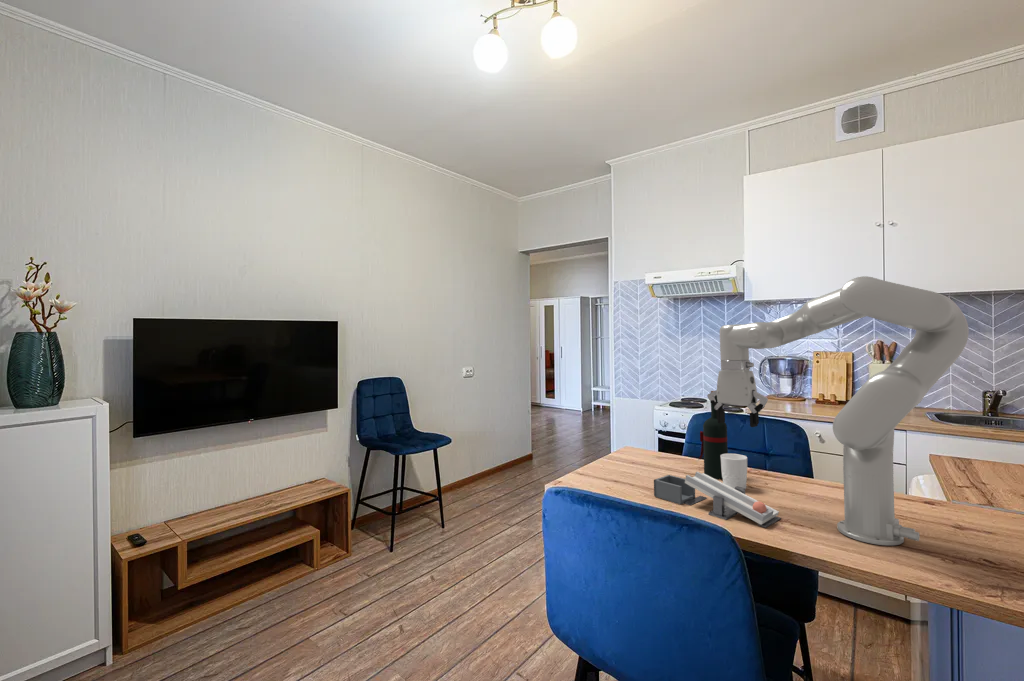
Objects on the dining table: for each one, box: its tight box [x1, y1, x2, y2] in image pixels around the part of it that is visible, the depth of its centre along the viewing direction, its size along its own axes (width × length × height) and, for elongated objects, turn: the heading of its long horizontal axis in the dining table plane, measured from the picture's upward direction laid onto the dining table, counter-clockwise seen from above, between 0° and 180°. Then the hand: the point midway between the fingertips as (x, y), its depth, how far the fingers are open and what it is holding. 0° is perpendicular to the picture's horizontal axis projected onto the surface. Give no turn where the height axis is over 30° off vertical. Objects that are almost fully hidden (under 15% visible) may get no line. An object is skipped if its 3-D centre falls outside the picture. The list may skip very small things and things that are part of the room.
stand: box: [683, 486, 782, 529], centre depth 125 cm, size 23×14×5 cm, turn 37°
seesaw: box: [684, 471, 780, 525], centre depth 125 cm, size 22×10×2 cm, turn 38°
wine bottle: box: [698, 390, 729, 480], centre depth 158 cm, size 8×10×30 cm
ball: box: [753, 500, 766, 514], centre depth 117 cm, size 3×3×3 cm
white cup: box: [720, 453, 748, 490], centre depth 145 cm, size 8×8×10 cm
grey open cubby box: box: [653, 474, 696, 506], centre depth 136 cm, size 9×8×5 cm
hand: (737, 424), depth 131 cm, fingers open, 9 cm apart
